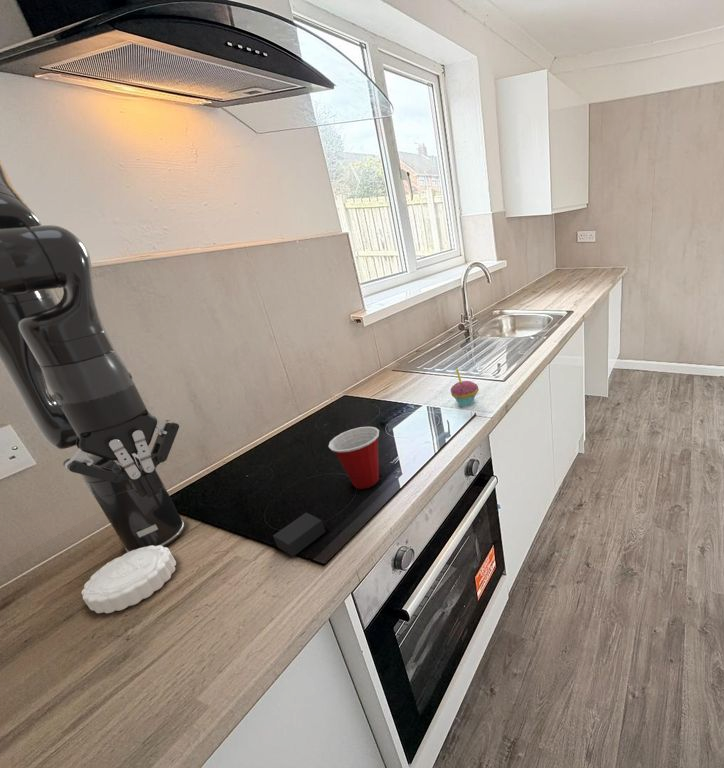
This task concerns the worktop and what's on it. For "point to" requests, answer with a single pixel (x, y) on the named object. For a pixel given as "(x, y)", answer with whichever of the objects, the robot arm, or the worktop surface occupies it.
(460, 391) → the cupcake
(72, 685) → the worktop surface
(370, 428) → the plastic cup
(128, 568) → the mooncake
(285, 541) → the eraser
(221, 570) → the worktop surface
